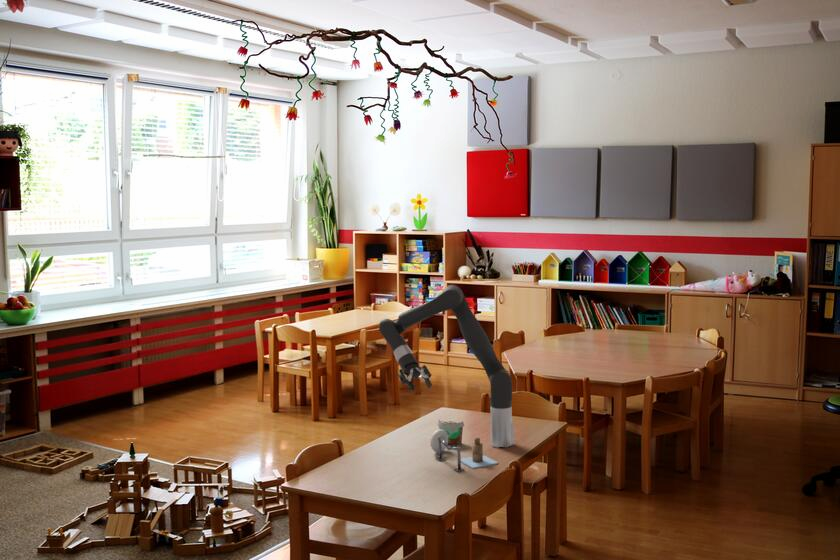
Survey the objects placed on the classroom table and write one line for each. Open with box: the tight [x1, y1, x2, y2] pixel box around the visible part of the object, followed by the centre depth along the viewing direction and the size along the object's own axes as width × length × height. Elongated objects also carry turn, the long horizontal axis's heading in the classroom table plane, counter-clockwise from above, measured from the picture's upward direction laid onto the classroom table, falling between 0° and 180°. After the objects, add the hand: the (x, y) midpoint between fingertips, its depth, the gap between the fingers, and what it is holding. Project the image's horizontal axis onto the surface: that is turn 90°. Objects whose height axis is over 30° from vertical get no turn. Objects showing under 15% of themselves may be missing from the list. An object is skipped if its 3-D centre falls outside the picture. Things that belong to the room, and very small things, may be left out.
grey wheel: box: [430, 428, 448, 454], centre depth 337 cm, size 10×3×10 cm, turn 139°
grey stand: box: [435, 437, 465, 473], centre depth 320 cm, size 3×19×10 cm, turn 27°
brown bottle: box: [471, 437, 484, 463], centre depth 322 cm, size 4×4×10 cm
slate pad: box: [461, 454, 499, 470], centre depth 323 cm, size 12×12×1 cm
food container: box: [436, 419, 465, 446], centre depth 348 cm, size 12×6×10 cm, turn 68°
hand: (422, 388), depth 331 cm, fingers open, 8 cm apart
